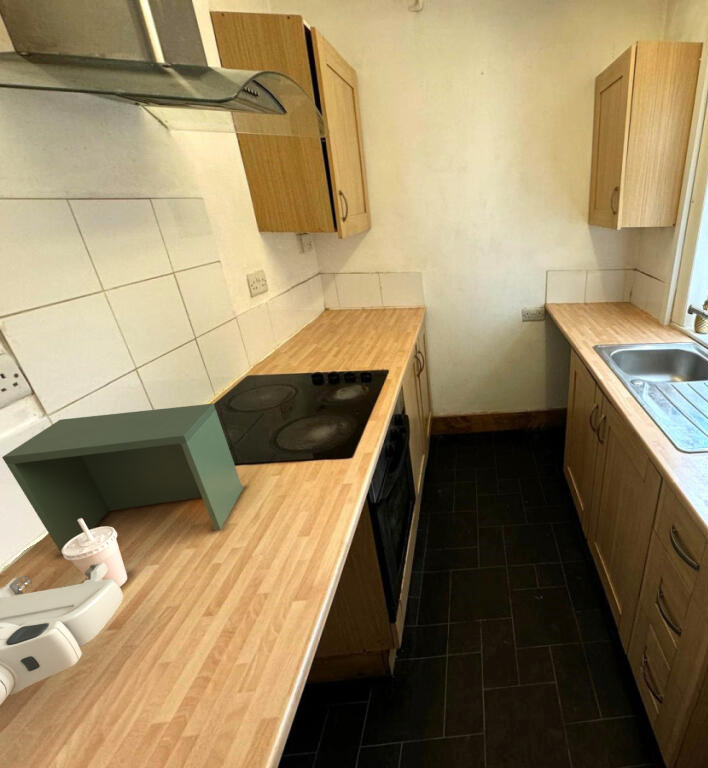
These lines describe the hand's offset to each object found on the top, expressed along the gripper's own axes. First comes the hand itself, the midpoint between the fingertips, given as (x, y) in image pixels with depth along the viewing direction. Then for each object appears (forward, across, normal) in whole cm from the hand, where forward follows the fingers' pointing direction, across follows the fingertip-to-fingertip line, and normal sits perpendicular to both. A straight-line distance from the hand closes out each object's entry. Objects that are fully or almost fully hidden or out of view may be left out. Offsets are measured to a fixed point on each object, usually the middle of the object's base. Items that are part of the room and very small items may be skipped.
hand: (63, 573), depth 61 cm
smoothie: (+6, 0, -9) cm, 11 cm away
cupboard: (+22, 0, -9) cm, 24 cm away
